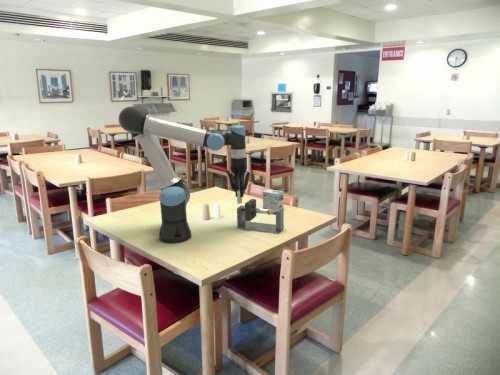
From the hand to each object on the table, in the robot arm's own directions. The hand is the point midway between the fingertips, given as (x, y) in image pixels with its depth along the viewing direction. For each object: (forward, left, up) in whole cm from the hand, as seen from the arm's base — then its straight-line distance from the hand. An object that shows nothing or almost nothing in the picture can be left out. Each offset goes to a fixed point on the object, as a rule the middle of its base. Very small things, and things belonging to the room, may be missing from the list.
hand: (239, 203), depth 189 cm
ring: (+6, 0, -8) cm, 10 cm away
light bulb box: (+7, +33, -12) cm, 36 cm away
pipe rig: (+11, 0, -12) cm, 16 cm away
